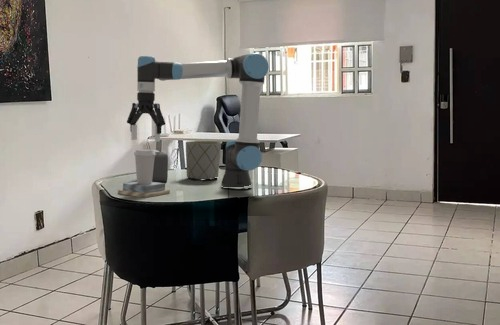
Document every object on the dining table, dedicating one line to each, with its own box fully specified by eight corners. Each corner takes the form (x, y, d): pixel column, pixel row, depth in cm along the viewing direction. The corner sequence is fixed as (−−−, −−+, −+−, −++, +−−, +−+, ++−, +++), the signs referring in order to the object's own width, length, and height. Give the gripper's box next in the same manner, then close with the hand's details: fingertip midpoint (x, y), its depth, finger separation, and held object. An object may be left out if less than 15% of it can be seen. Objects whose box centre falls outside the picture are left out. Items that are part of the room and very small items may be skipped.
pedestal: (169, 193, 256) (169, 183, 255) (145, 197, 242) (145, 187, 241) (142, 189, 264) (142, 180, 263) (118, 193, 250) (118, 183, 250)
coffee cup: (136, 185, 246) (136, 150, 245) (131, 182, 255) (132, 148, 253) (157, 184, 250) (158, 150, 249) (152, 181, 259) (153, 148, 257)
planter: (177, 178, 308) (178, 141, 306) (202, 175, 322) (203, 140, 320) (202, 182, 295) (203, 144, 293) (227, 179, 310) (228, 143, 308)
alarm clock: (167, 182, 290) (168, 152, 288) (145, 182, 286) (145, 152, 284) (161, 178, 305) (161, 149, 304) (140, 178, 301) (140, 149, 300)
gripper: (118, 91, 252) (118, 139, 254) (162, 92, 239) (161, 142, 241) (130, 91, 258) (130, 138, 260) (173, 92, 245) (173, 141, 247)
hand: (145, 140), depth 251 cm, fingers open, 13 cm apart
